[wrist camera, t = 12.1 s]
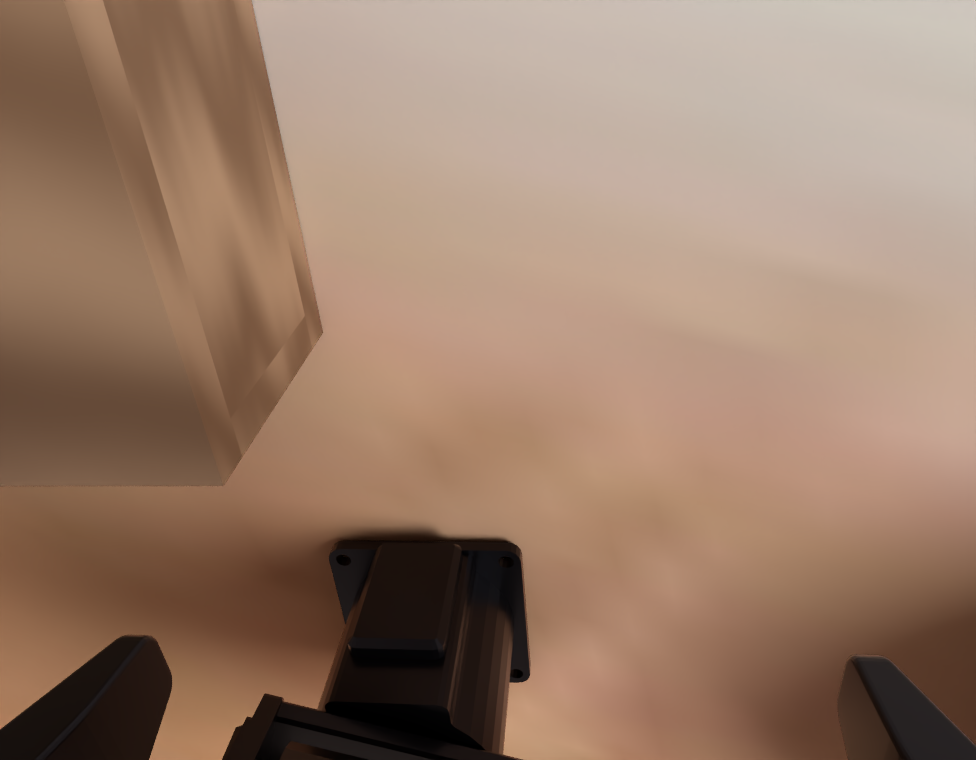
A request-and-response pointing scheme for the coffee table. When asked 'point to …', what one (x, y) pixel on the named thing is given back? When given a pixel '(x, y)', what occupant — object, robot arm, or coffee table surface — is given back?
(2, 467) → the brown legged block
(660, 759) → the coffee table surface
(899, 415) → the coffee table surface
